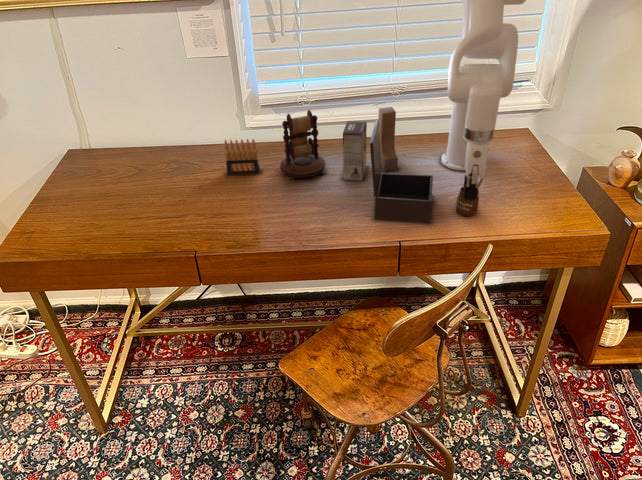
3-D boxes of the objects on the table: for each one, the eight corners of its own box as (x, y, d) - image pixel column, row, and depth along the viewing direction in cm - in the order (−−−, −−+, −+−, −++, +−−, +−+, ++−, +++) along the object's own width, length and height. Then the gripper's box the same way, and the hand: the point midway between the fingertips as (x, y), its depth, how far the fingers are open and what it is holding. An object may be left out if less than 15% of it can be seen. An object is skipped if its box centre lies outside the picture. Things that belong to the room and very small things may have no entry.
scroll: (316, 156, 188) (314, 99, 175) (331, 176, 177) (330, 117, 164) (275, 164, 184) (270, 107, 172) (288, 185, 174) (283, 126, 161)
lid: (378, 119, 152) (375, 119, 152) (373, 142, 141) (369, 142, 142) (381, 171, 162) (378, 171, 162) (376, 196, 151) (373, 196, 151)
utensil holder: (463, 203, 160) (468, 166, 153) (481, 210, 157) (488, 173, 149) (451, 211, 157) (456, 174, 150) (470, 219, 154) (476, 182, 146)
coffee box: (347, 165, 182) (346, 120, 171) (366, 167, 180) (367, 120, 170) (342, 179, 175) (342, 132, 164) (362, 181, 173) (363, 133, 163)
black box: (430, 196, 164) (432, 175, 160) (429, 223, 154) (431, 201, 149) (379, 193, 167) (380, 172, 163) (374, 219, 156) (375, 198, 152)
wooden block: (397, 170, 178) (400, 117, 166) (384, 171, 177) (386, 119, 166) (389, 157, 185) (392, 106, 173) (376, 159, 184) (378, 107, 173)
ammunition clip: (227, 174, 181) (222, 141, 173) (228, 172, 182) (222, 138, 174) (259, 173, 180) (255, 139, 173) (260, 170, 182) (256, 137, 174)
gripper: (496, 148, 135) (484, 210, 146) (491, 119, 148) (481, 178, 159) (464, 146, 136) (456, 208, 147) (463, 118, 149) (455, 177, 160)
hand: (469, 192), depth 153 cm, fingers closed on utensil holder, 5 cm apart
